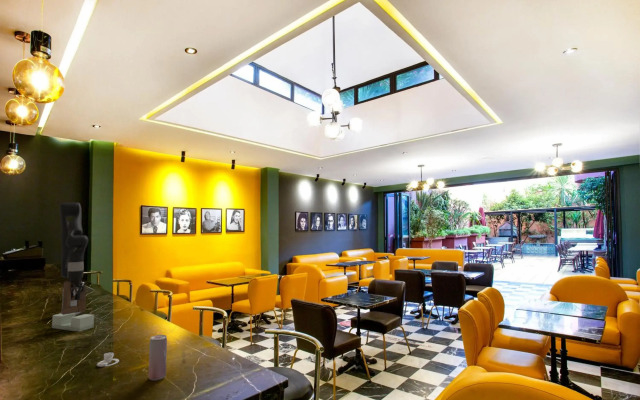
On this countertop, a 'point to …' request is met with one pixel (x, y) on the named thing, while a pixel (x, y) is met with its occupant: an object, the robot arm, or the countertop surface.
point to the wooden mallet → (67, 300)
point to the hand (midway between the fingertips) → (74, 299)
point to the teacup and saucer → (107, 360)
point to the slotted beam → (73, 322)
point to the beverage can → (157, 357)
